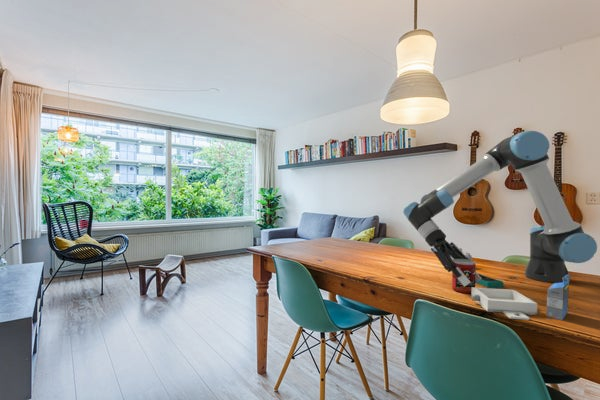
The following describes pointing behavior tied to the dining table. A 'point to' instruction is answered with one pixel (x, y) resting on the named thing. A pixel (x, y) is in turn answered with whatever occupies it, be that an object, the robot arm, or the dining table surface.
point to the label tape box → (558, 299)
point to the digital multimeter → (490, 282)
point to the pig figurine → (464, 254)
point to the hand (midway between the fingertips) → (473, 282)
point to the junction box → (505, 302)
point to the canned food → (469, 271)
